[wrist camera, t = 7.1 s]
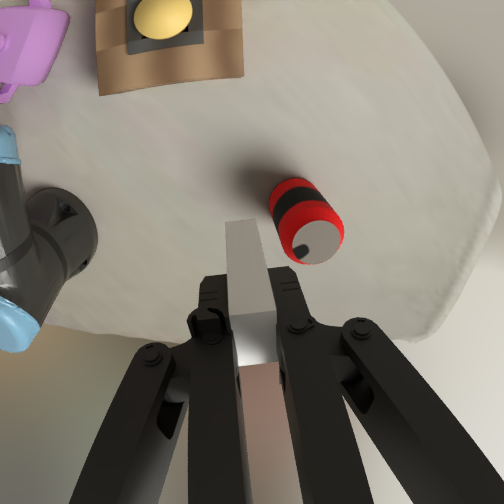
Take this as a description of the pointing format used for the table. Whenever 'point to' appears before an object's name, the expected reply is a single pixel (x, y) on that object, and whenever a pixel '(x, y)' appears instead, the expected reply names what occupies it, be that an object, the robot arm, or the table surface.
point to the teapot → (29, 44)
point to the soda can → (305, 222)
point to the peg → (162, 18)
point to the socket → (167, 47)
